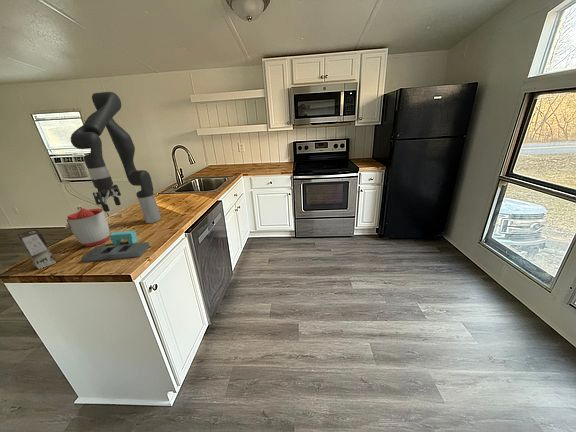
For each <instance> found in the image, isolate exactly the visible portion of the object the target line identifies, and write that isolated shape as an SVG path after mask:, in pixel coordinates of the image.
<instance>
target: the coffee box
mask: <svg viewBox="0 0 576 432" xmlns="http://www.w3.org/2000/svg"><path fill="white" fill-rule="evenodd" d="M16 237H17V238H18V240H19V242H20V244H21V246H22V247H23V249H24V251H25V252H26V254H27V256H28V258H29V259H30V261H31V262H32V264H33V265H34V267H36V268H37V269H38V270H41V269H43V267H44V268H47V267H49V266H52V265H54V264H57V261H56V260H55V258H54V256H53V254H52V251H51V250H50V248H49V245H48V243H47V242H46V240H45V238H44V236H43V234H42V232H41V231H40V230H38V229H31V230H28V231H25V232H22V233H19V234H16ZM46 266H47V267H46ZM40 268H41V269H40Z"/></svg>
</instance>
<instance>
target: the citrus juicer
mask: <svg viewBox="0 0 576 432" xmlns="http://www.w3.org/2000/svg"><path fill="white" fill-rule="evenodd" d="M66 217H67V219H66V221H67V223H65V227H64V229H65V230H67V229H68V228H69V229H70V230H71V232H72V234H73V236H74V238H75V239H76V240H77V241H78V242H79V244H81V245H82V246H83V247H87V248H88V247H93V246H95V247H96V246H98V245H100V244H103V243H106V242H107V241H109V240H110V236H109V235H111V234H110V226H109V223H108V221H107V219H106V216H105V212H104V210H103V208H89V209H86V208H83V207H82V208H80V210H79V211H77V212H75V213H74V212H73V213H71V214H68V215H67V216H66Z"/></svg>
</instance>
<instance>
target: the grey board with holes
mask: <svg viewBox="0 0 576 432" xmlns="http://www.w3.org/2000/svg"><path fill="white" fill-rule="evenodd" d="M149 248H151V245H150V242H149V241H145V242H135V243H133V244H129V243H126V244H125V243H122V244H119V245H113V244H112V245H111V244H110V245H102V246H95V247H93V248H92V249H91V250H90V251H88V252H87V253H85V254H84V255H83V256H81V258H80V259H82V262H83V263H88V262H98V261H109V260H119V259H130V258H141V257H142V255H144V253H146V251H147V250H148V249H149Z"/></svg>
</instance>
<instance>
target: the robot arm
mask: <svg viewBox="0 0 576 432" xmlns="http://www.w3.org/2000/svg"><path fill="white" fill-rule="evenodd" d="M91 100H92V103H93V105H94V107H95V109H96V110H95V111H94V112H93V113H91V114H90V115H89V116H88V117H87V118H86V120H85V121H84V123H83V124H82V125H81V126H80V127H78V128H77V129H76V130H75V131H73V132H72V133H71V135H70V143H71V145H72V146H73V147H74V148H76V149H78V150H90V152H89V153H88V154H86V155H84V156H83V161H84V164H85V166H86V168H87V172H88V175H89V177H90V180H91V182H92V184H93V187H94V189H97V191H94V192H92V196H93V198H94V201H95V204H96V205H97V206H98V205H99V206H101V209H102V210H103V212H104V213H105V212H110V211H111V210H110V207H109V205H108V204H107V203H108V200H109V198H113V201H114V204H115V206H121V200H120V196H122V193H121V191H120V189H119V186H118V185H117V184H114V182H113V180H112V179H113V178H112V177H111V174H110V171H109V169H108V167H107V165H106V162H105V160H104V157H103V145H102V144H103V142H102V140H101V138H100V136H101V135H102V134H103V133H104V130H105V128H106V129H107V132H108V135H109V136H110V138H111V141H112V144H113V147H114V148H115V150H116V153H117V154H118V157H119V158H120V161H121V163H122V166H123V169H124V173H125V175H126V179H127V180H128V182H129V183H130V184H131V186H135V187H137V186H139V187H140V190H139V191H137V192H136V197H137V200H138V203H139V206H140V209H141V212H142V213H141V214H142V216H143V219H144V223H146V224H155V223H157V222H160V221H161V220H162V217H161V213H160V212H161V211H160V209H159V206H158V204H157V203H158V202H157V200H156V197H155V193H154V186H153V181H152V177H151V174H150V172H149V171H147V170H143V169H142V170H139V169H138V170H137V168H136V166H135V163H134V160H135V159H134V158H135V153H136V152H135V150H136V147H135V143H133V140H132V137H131V135H130V134H129V133H128V132H127V131H126V130H125V129H124V128H123V127H122V126H120V125H119V124H118V123H117V122H116V120H115V119H114V116H116V115H117V113H119V111H121V109H122V100H121V98H120V96H119V95H117V93H115V92H113V91H103V92H96V93H95V92H94V93H92V95H91Z"/></svg>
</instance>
